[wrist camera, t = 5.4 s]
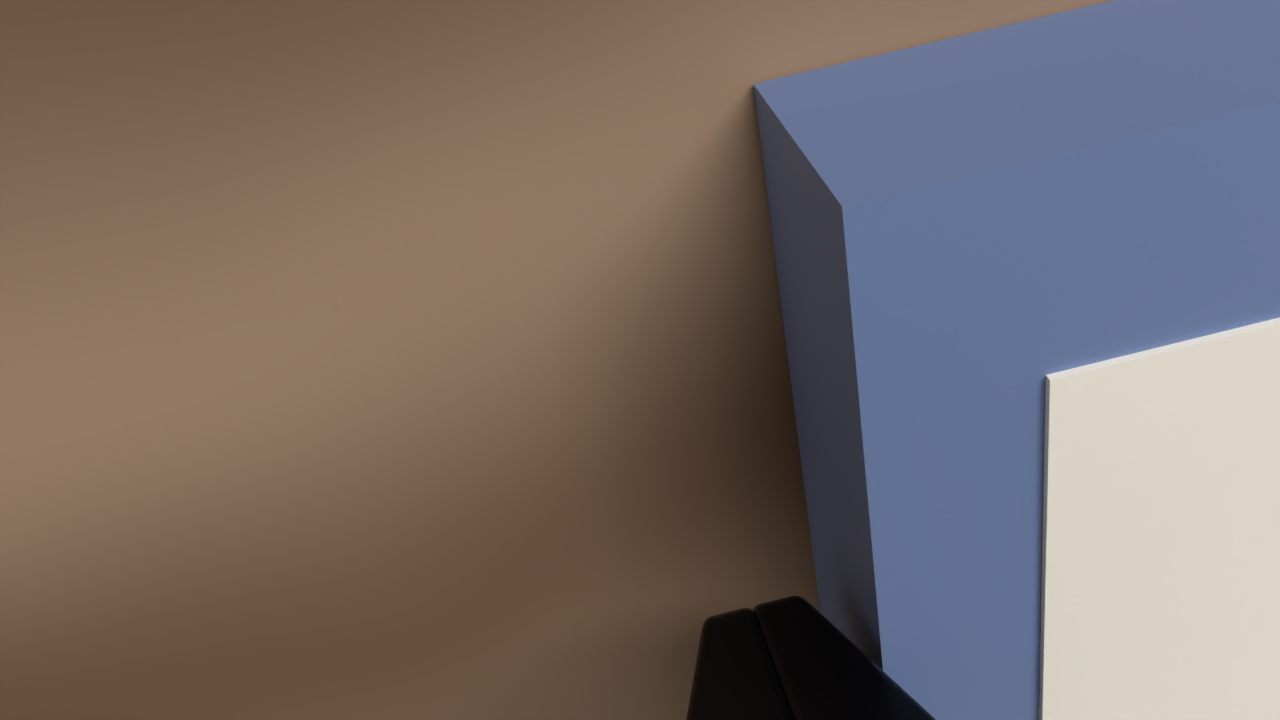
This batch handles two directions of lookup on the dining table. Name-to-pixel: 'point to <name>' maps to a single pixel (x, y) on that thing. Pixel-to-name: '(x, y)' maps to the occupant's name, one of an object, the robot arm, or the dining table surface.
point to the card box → (1043, 358)
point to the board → (397, 349)
